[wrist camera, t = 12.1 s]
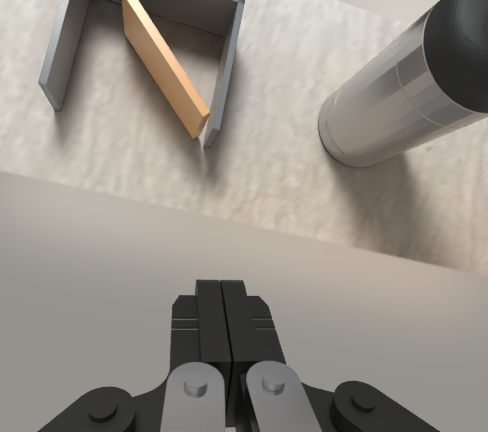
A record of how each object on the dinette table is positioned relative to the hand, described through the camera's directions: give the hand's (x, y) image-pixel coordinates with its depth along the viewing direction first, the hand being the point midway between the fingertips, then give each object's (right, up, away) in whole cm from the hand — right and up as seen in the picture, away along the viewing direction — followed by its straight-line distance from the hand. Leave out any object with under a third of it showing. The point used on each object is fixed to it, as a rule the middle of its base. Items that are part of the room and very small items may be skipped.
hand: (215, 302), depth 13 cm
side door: (-7, +16, +27) cm, 33 cm away
